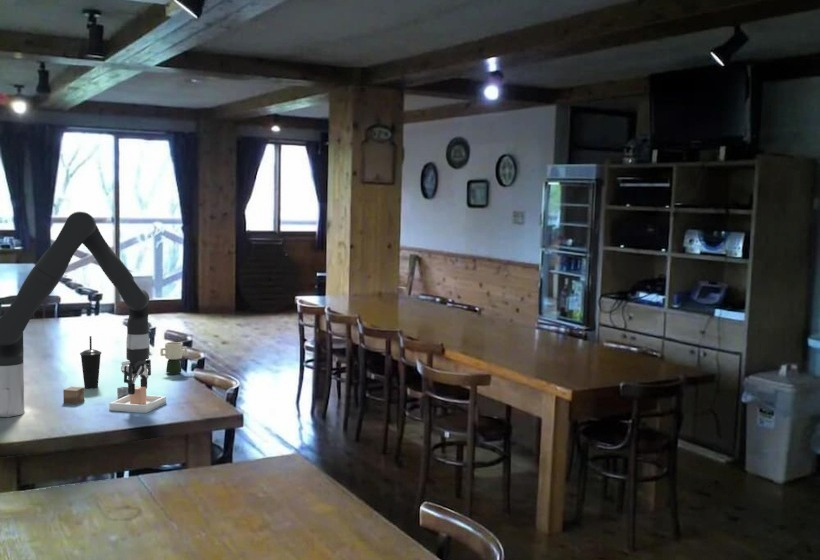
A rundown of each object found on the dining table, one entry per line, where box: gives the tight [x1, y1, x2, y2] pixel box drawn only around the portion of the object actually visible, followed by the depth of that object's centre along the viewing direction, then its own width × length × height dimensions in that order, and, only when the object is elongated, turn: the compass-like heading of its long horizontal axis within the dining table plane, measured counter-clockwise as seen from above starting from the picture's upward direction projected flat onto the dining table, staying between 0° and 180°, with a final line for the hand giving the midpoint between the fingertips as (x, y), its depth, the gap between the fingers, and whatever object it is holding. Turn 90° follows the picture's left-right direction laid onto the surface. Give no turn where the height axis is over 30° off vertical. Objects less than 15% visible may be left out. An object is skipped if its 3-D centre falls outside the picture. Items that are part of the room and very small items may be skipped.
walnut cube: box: [62, 386, 85, 405], centre depth 286 cm, size 5×5×5 cm
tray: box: [108, 394, 167, 414], centre depth 282 cm, size 14×14×2 cm
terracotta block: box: [130, 385, 147, 405], centre depth 281 cm, size 4×4×6 cm
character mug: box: [160, 341, 188, 375], centre depth 336 cm, size 11×7×13 cm, turn 118°
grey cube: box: [116, 386, 129, 400], centre depth 292 cm, size 4×4×4 cm
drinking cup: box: [79, 335, 102, 390], centre depth 308 cm, size 8×8×20 cm
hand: (137, 391), depth 281 cm, fingers open, 8 cm apart
